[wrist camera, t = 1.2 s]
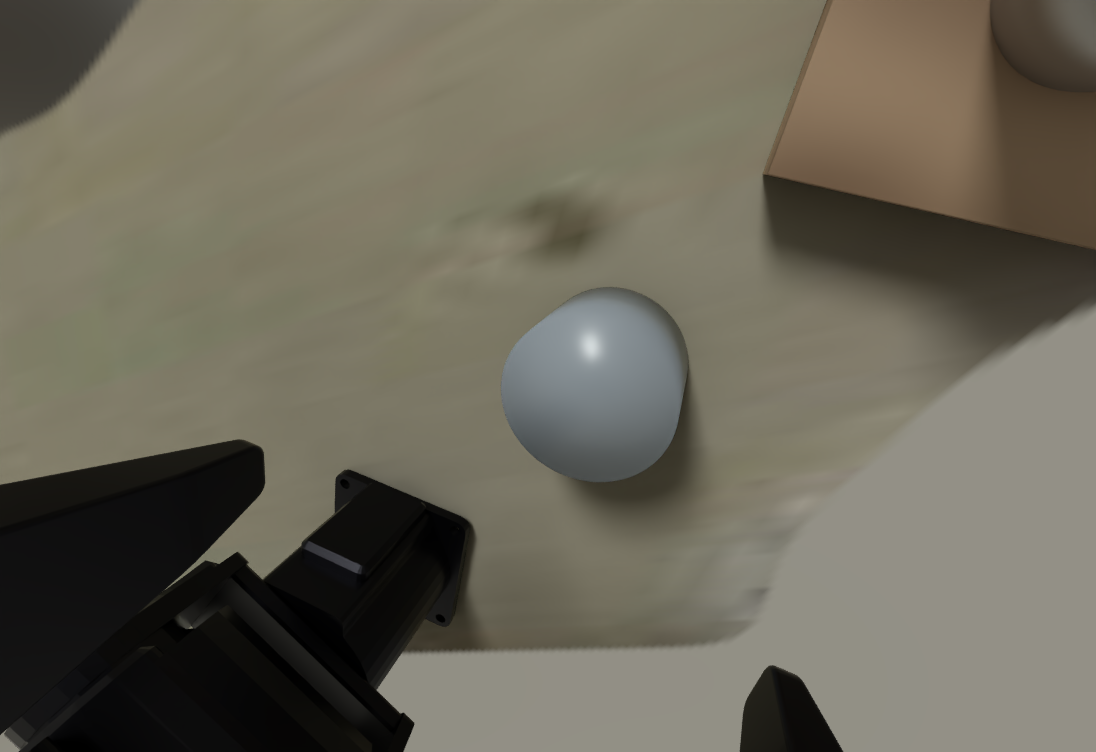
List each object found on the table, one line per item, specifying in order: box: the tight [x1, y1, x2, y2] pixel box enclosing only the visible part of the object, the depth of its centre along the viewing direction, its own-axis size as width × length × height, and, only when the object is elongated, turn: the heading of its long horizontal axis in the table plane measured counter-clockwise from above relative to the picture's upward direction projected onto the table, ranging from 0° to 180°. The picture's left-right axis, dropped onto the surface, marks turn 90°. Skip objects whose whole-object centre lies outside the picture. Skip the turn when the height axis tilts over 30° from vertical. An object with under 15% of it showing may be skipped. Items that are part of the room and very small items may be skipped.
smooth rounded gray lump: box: [501, 287, 688, 482], centre depth 15 cm, size 5×5×4 cm
